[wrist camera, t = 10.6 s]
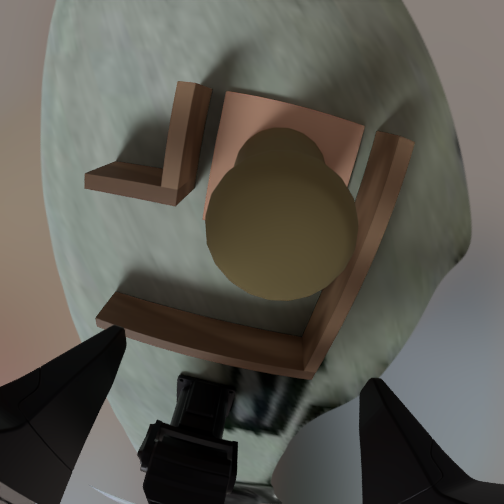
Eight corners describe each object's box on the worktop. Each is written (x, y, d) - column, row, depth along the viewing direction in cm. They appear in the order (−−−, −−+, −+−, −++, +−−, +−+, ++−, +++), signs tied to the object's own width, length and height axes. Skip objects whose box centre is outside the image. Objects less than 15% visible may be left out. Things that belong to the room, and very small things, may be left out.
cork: (228, 208, 19) (177, 310, 10) (241, 119, 17) (188, 126, 7) (315, 224, 19) (346, 338, 10) (335, 138, 17) (408, 172, 7)
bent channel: (308, 346, 25) (311, 379, 22) (116, 299, 25) (96, 326, 21) (389, 135, 16) (415, 142, 13) (125, 82, 16) (94, 79, 12)
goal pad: (325, 246, 20) (326, 248, 20) (203, 217, 20) (202, 219, 20) (363, 125, 16) (364, 126, 16) (227, 91, 16) (226, 90, 16)
